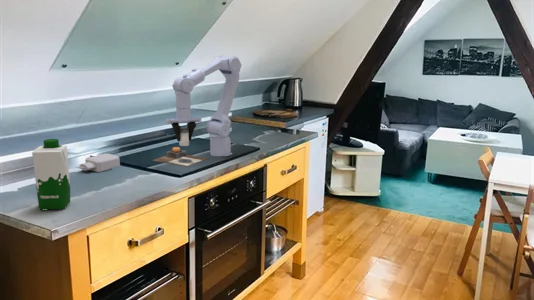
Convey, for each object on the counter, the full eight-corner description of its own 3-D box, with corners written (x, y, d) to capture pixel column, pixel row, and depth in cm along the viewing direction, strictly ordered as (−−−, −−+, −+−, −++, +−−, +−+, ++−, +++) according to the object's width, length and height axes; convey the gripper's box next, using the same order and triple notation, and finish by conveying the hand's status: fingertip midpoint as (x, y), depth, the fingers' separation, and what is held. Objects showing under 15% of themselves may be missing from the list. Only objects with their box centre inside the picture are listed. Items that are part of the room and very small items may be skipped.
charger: (72, 172, 169) (106, 164, 181) (85, 176, 164) (120, 168, 175) (71, 160, 168) (105, 152, 179) (84, 164, 162) (119, 156, 174)
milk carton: (74, 200, 139) (68, 138, 134) (66, 210, 130) (60, 145, 125) (44, 201, 137) (37, 138, 132) (34, 212, 129) (27, 145, 124)
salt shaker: (183, 143, 185) (182, 126, 183) (191, 144, 183) (191, 128, 181) (176, 145, 181) (176, 128, 179) (185, 146, 179) (184, 129, 178)
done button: (175, 151, 193) (175, 146, 193) (181, 152, 192) (181, 147, 191) (171, 152, 191) (171, 148, 190) (177, 153, 189) (176, 149, 189)
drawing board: (175, 154, 197) (175, 148, 196) (208, 160, 189) (208, 153, 188) (152, 162, 184) (151, 155, 183) (186, 168, 176) (186, 161, 175)
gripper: (197, 105, 185) (197, 137, 188) (163, 107, 178) (164, 139, 182) (202, 107, 179) (203, 140, 182) (167, 109, 172) (168, 143, 176)
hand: (184, 140), depth 182 cm, fingers closed on salt shaker, 4 cm apart
